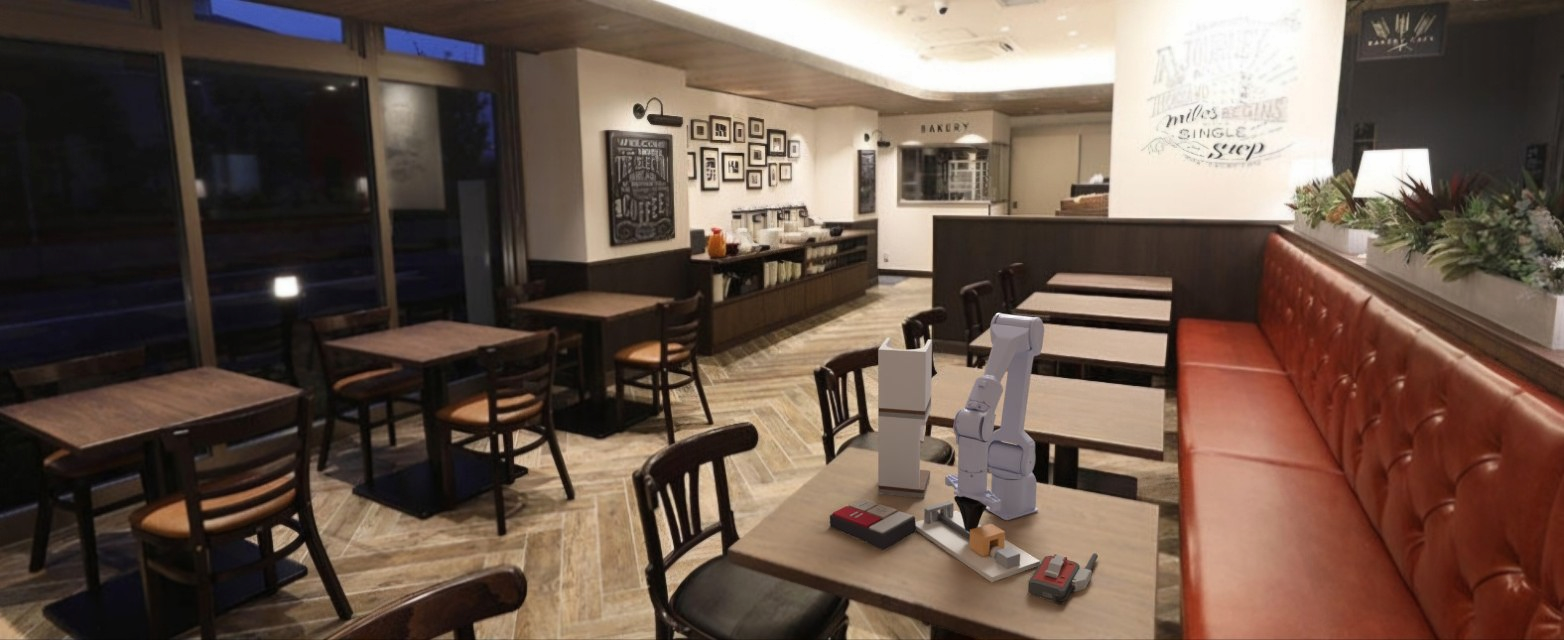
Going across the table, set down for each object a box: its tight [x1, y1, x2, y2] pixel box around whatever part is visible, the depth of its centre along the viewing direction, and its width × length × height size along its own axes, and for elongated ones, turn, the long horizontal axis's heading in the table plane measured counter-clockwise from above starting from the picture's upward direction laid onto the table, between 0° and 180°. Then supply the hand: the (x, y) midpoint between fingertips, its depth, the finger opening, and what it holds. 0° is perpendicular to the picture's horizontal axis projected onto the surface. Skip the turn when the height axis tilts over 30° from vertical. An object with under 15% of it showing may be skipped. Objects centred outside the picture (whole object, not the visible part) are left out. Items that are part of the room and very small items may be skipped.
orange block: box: [969, 523, 1006, 556], centre depth 157 cm, size 5×4×4 cm
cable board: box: [915, 500, 1041, 583], centre depth 161 cm, size 12×25×4 cm, turn 27°
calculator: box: [829, 497, 917, 551], centre depth 169 cm, size 11×4×15 cm
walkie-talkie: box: [1027, 553, 1099, 605], centre depth 148 cm, size 9×4×20 cm
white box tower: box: [877, 337, 933, 499], centre depth 186 cm, size 11×11×35 cm
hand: (971, 529), depth 161 cm, fingers closed
